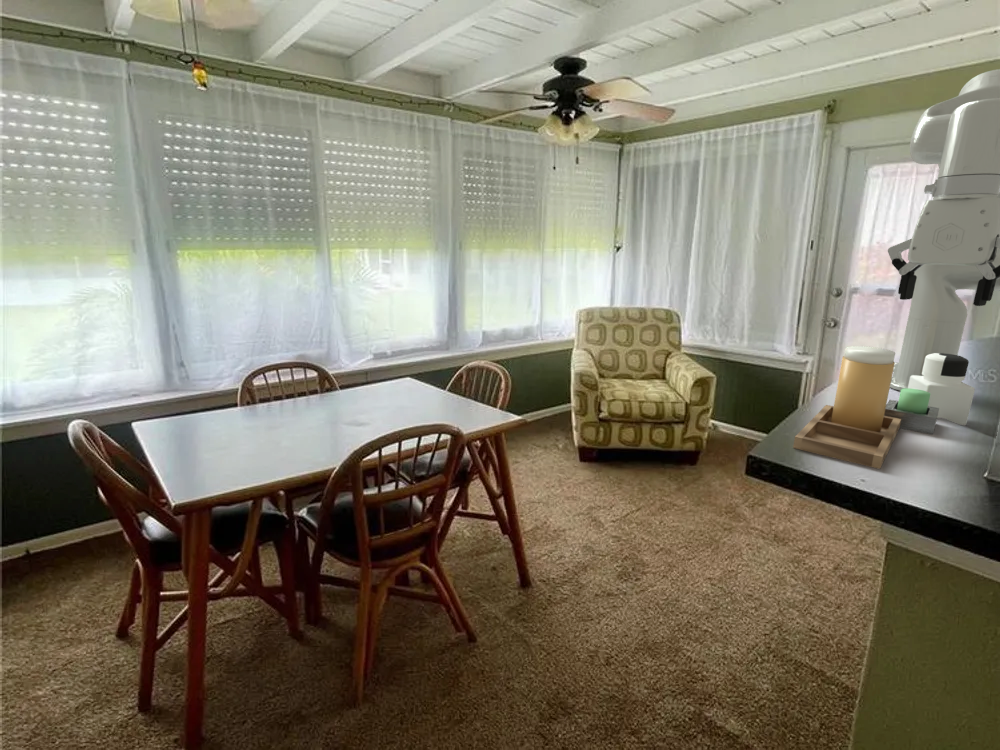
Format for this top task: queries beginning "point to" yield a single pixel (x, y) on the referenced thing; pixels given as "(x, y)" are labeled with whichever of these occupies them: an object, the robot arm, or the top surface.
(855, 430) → the wooden tray
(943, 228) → the robot arm
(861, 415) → the bottle
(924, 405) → the button
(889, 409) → the button pedestal
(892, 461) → the top surface
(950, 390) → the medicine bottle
